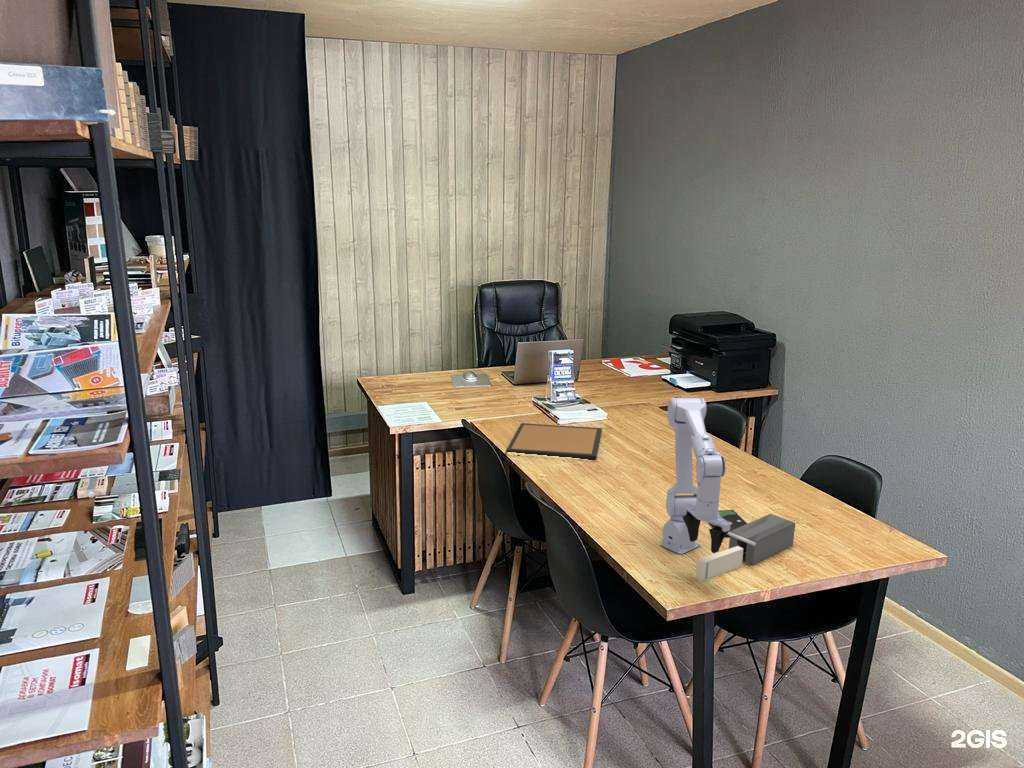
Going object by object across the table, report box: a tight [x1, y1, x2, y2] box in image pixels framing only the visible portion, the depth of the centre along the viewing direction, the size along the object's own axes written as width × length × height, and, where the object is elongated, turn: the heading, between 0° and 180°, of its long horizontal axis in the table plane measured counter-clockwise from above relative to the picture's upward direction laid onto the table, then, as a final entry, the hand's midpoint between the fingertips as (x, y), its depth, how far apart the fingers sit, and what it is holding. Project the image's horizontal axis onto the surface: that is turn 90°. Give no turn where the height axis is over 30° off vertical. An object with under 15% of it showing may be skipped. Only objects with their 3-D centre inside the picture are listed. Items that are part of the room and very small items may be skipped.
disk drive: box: [706, 509, 748, 539], centre depth 233 cm, size 10×3×15 cm
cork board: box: [505, 422, 603, 461], centre depth 308 cm, size 36×3×35 cm
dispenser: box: [728, 513, 796, 566], centre depth 217 cm, size 21×9×7 cm, turn 128°
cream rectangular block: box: [694, 546, 744, 582], centre depth 205 cm, size 16×2×6 cm, turn 122°
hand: (704, 546), depth 200 cm, fingers open, 7 cm apart
